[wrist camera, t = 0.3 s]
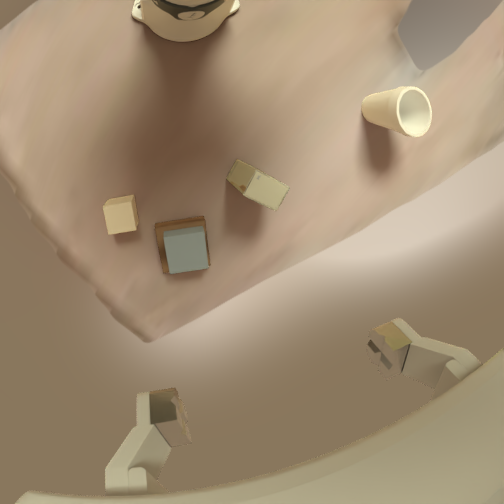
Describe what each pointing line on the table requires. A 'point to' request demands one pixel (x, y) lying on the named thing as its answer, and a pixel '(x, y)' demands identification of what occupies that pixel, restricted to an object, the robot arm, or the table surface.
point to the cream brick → (121, 214)
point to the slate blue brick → (186, 249)
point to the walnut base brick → (173, 226)
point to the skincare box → (257, 185)
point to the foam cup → (399, 110)
